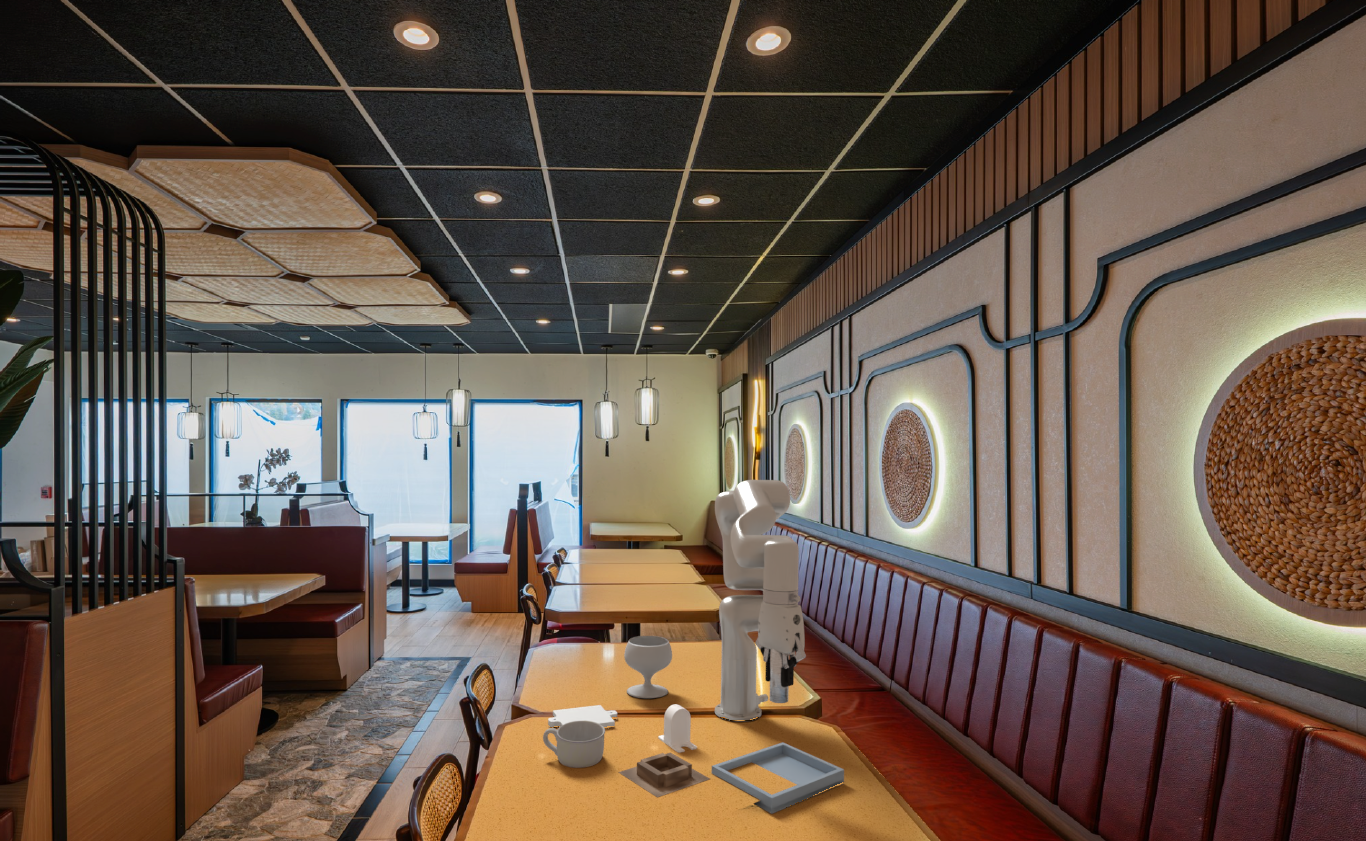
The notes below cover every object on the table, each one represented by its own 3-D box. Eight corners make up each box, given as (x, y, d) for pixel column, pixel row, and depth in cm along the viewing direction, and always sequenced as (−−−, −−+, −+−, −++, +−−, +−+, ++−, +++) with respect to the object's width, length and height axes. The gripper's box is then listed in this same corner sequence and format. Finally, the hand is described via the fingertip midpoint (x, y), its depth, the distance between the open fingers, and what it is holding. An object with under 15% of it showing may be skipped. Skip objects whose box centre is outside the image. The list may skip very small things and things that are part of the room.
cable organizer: (676, 740, 177) (677, 698, 178) (697, 755, 169) (698, 711, 169) (657, 744, 175) (658, 702, 175) (678, 759, 166) (679, 715, 167)
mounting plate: (554, 737, 179) (554, 729, 179) (543, 719, 190) (543, 711, 191) (624, 727, 186) (624, 720, 186) (609, 711, 197) (609, 703, 198)
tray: (782, 755, 170) (782, 742, 170) (843, 783, 156) (844, 769, 156) (711, 780, 156) (711, 765, 156) (771, 813, 142) (771, 798, 142)
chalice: (670, 701, 205) (671, 647, 205) (621, 700, 205) (622, 646, 206) (672, 685, 219) (673, 635, 219) (625, 684, 219) (627, 634, 220)
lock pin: (778, 695, 159) (779, 640, 160) (792, 700, 156) (793, 644, 157) (765, 699, 157) (766, 642, 157) (779, 704, 154) (780, 646, 154)
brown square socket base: (669, 763, 164) (670, 745, 164) (710, 786, 153) (710, 766, 153) (618, 779, 155) (618, 760, 156) (657, 805, 144) (657, 784, 145)
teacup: (612, 760, 165) (612, 724, 165) (590, 780, 155) (591, 741, 155) (557, 750, 170) (558, 715, 170) (533, 769, 159) (534, 732, 160)
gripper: (821, 602, 153) (820, 690, 152) (765, 589, 166) (764, 670, 165) (797, 605, 149) (796, 697, 148) (741, 592, 162) (740, 676, 161)
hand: (779, 682), depth 157 cm, fingers closed on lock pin, 4 cm apart
